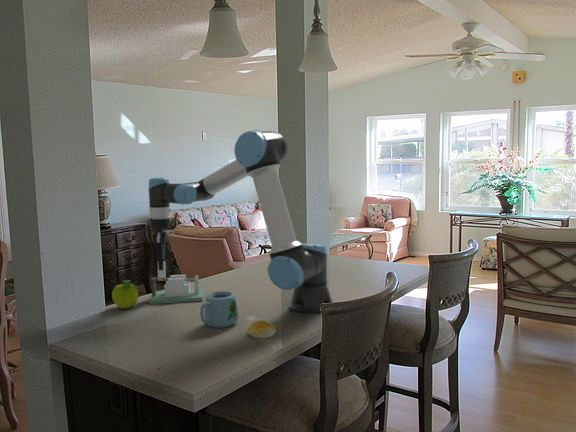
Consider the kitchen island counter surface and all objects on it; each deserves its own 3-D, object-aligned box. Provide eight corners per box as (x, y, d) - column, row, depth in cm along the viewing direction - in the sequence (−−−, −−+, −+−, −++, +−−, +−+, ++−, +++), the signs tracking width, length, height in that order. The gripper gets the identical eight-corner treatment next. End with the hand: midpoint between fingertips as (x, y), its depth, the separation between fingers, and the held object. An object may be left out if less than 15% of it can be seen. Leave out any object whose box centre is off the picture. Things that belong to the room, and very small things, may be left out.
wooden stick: (198, 281, 205) (198, 278, 205) (197, 282, 203) (197, 279, 203) (158, 279, 204) (158, 276, 204) (157, 281, 202) (157, 278, 202)
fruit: (140, 303, 198) (138, 277, 197) (137, 310, 189) (135, 283, 188) (115, 305, 197) (113, 279, 195) (111, 312, 187) (109, 285, 186)
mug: (214, 335, 160) (212, 304, 159) (189, 329, 166) (187, 299, 165) (245, 322, 172) (244, 292, 171) (220, 316, 178) (219, 288, 177)
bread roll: (266, 328, 166) (265, 315, 166) (280, 335, 159) (279, 323, 158) (243, 333, 162) (242, 320, 162) (256, 341, 155) (255, 328, 154)
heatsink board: (204, 292, 212) (203, 272, 211) (202, 301, 199) (201, 279, 198) (155, 294, 210) (153, 274, 209) (149, 303, 197) (148, 282, 196)
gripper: (167, 219, 194) (169, 281, 197) (171, 215, 207) (173, 273, 210) (147, 220, 193) (149, 281, 196) (152, 215, 206) (154, 273, 209)
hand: (161, 277), depth 203 cm, fingers closed
